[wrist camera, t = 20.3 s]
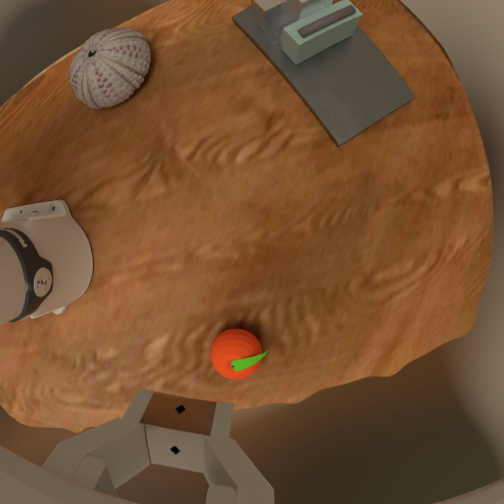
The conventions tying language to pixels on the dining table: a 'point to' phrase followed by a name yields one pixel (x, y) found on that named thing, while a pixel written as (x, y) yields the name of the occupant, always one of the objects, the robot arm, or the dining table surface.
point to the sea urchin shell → (110, 67)
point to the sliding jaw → (320, 30)
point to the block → (300, 9)
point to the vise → (330, 74)
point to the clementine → (236, 354)
